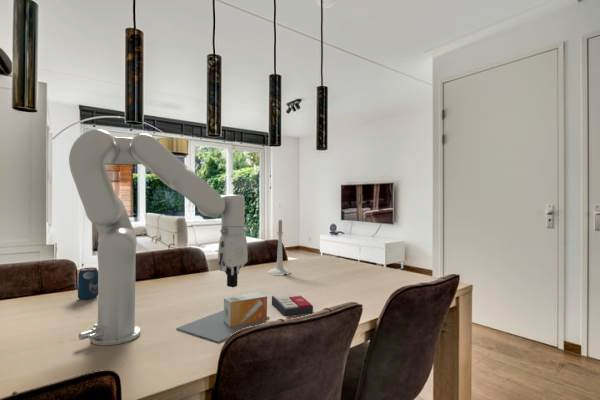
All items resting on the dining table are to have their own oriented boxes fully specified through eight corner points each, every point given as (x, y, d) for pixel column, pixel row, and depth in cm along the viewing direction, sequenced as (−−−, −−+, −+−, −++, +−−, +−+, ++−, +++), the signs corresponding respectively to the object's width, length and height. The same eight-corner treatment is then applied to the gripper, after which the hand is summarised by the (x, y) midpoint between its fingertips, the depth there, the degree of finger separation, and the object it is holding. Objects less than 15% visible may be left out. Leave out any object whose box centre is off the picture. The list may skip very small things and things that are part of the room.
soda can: (94, 300, 132) (94, 270, 132) (74, 301, 130) (75, 270, 130) (100, 295, 138) (101, 266, 138) (82, 296, 137) (82, 267, 137)
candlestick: (282, 269, 196) (282, 218, 196) (295, 273, 186) (296, 219, 186) (263, 272, 187) (264, 219, 188) (276, 276, 178) (277, 220, 178)
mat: (218, 343, 94) (218, 341, 94) (176, 329, 104) (176, 328, 104) (269, 318, 115) (269, 316, 115) (230, 308, 124) (230, 307, 124)
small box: (230, 302, 104) (267, 295, 112) (223, 297, 110) (259, 291, 117) (230, 328, 105) (267, 320, 112) (223, 321, 110) (258, 314, 117)
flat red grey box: (285, 307, 116) (271, 294, 130) (284, 319, 116) (271, 304, 130) (313, 304, 121) (297, 291, 134) (313, 315, 121) (297, 301, 135)
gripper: (225, 233, 103) (224, 293, 103) (255, 230, 116) (255, 283, 116) (208, 232, 107) (207, 289, 107) (239, 229, 120) (238, 280, 120)
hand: (232, 286), depth 112 cm, fingers closed
